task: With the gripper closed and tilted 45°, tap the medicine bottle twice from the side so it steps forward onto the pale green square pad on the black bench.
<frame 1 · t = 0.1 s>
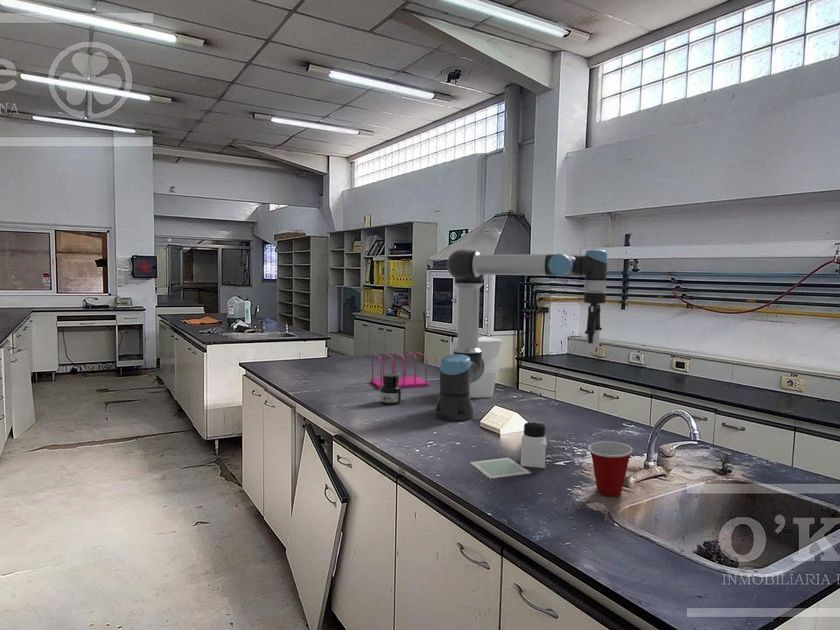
hand: (592, 349, 198), 28 cm above the counter, tool pointing down, fingers open, 13 cm apart
plastic cup: (608, 493, 138), on the counter
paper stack: (469, 394, 247), on the counter
file sorter: (399, 385, 266), on the counter
medicine bottle: (532, 464, 158), on the counter, touching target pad
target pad: (499, 467, 154), on the counter
ink bottle: (390, 403, 229), on the counter
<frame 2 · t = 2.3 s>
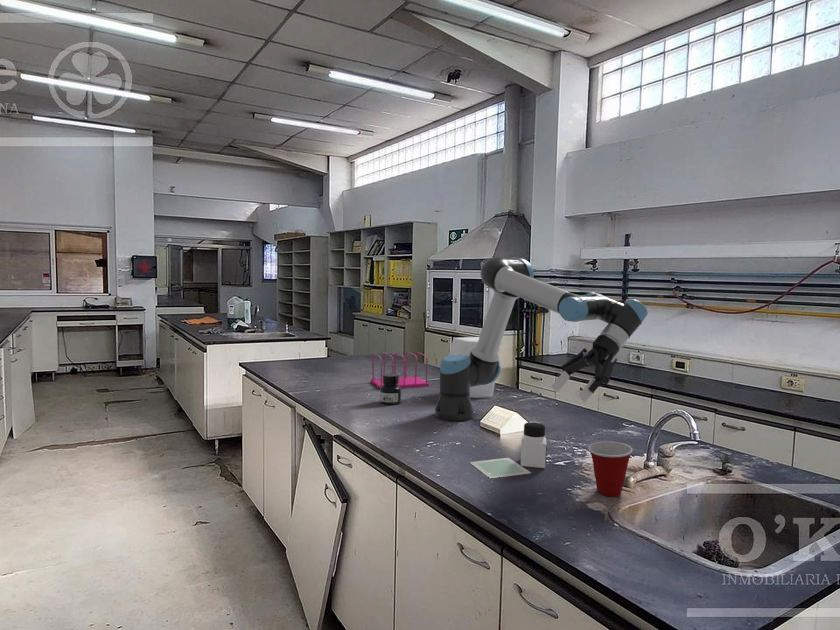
hand: (567, 394, 160), 20 cm above the counter, tool tilted 45°, fingers open, 13 cm apart
nothing on the counter moved.
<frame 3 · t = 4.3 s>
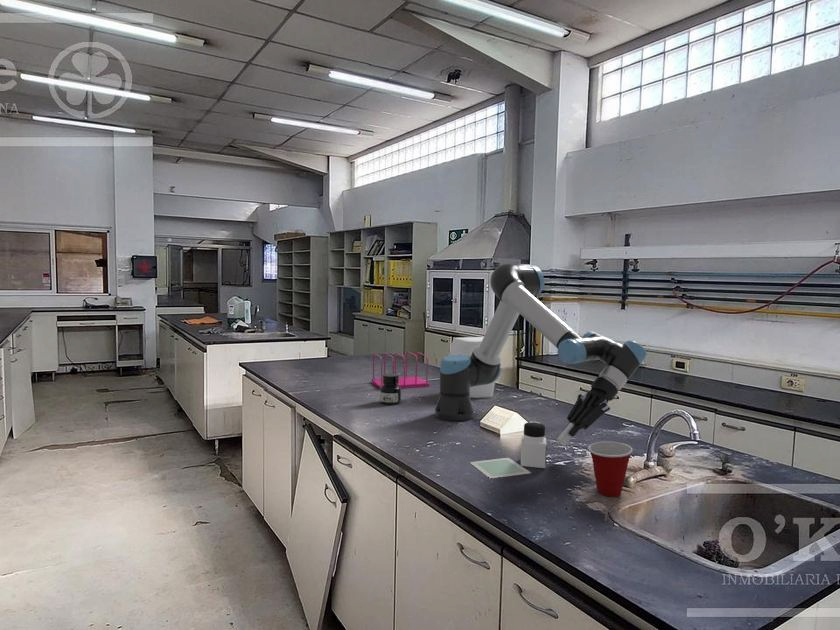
hand: (561, 442, 160), 6 cm above the counter, tool tilted 45°, fingers closed
nothing on the counter moved.
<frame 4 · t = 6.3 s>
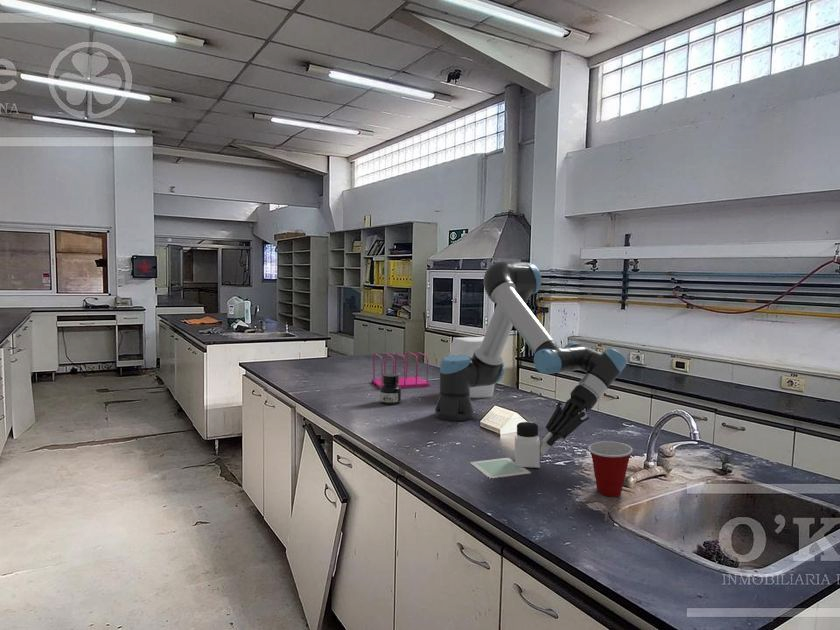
hand: (539, 451, 158), 3 cm above the counter, tool tilted 45°, fingers closed
medicine bottle: (527, 464, 157), on the counter, touching gripper
everything else where it was.
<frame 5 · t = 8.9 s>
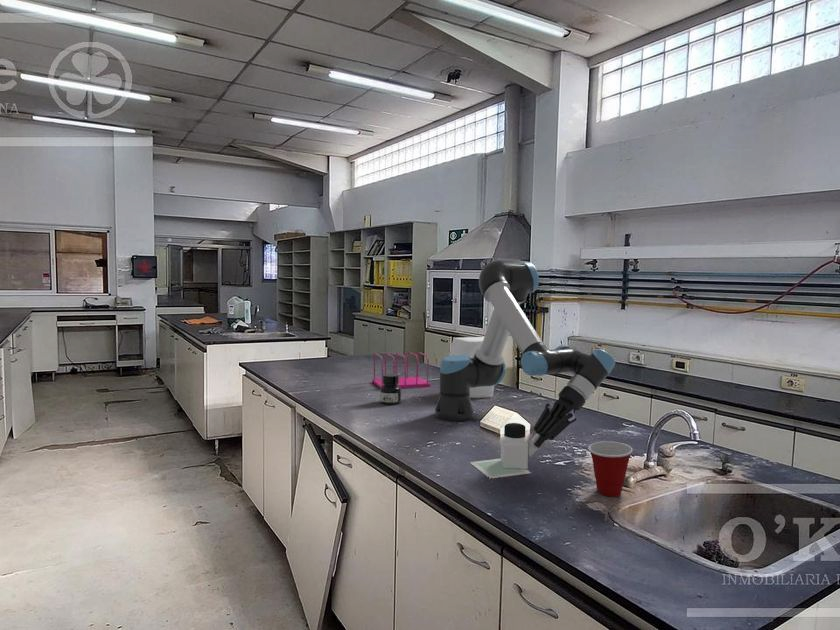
hand: (526, 453, 156), 3 cm above the counter, tool tilted 45°, fingers closed
medicine bottle: (514, 465, 156), resting on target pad, touching gripper
everything else where it was.
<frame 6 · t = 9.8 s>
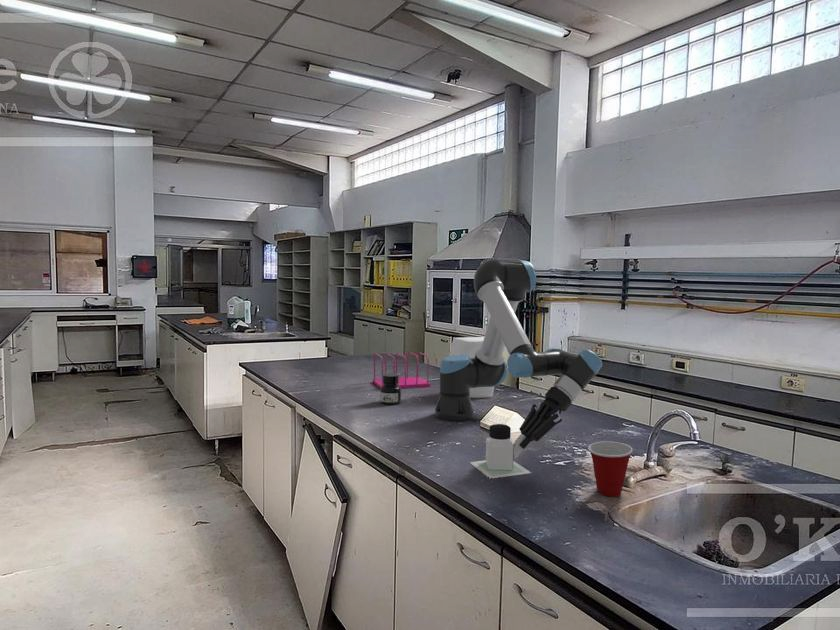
hand: (511, 454, 155), 4 cm above the counter, tool tilted 45°, fingers closed
medicine bottle: (499, 466, 155), resting on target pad, touching gripper
everything else where it was.
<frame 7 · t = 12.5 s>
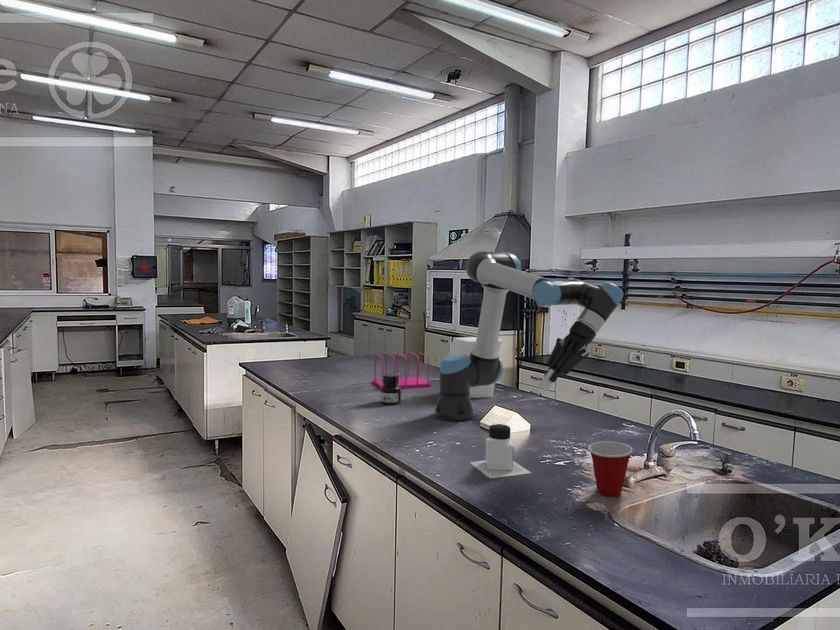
hand: (542, 388, 164), 21 cm above the counter, tool tilted 35°, fingers closed
medicine bottle: (498, 466, 155), resting on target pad
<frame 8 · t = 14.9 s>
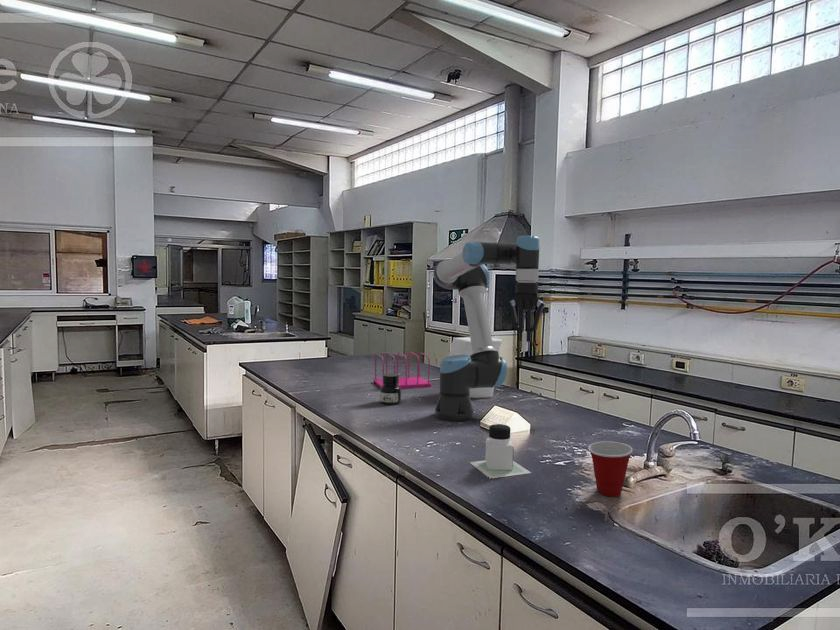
hand: (524, 350, 183), 29 cm above the counter, tool pointing down, fingers closed
at the end: medicine bottle 1.1 cm from the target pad (horizontally); medicine bottle tilted 0°; the gripper is holding nothing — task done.
